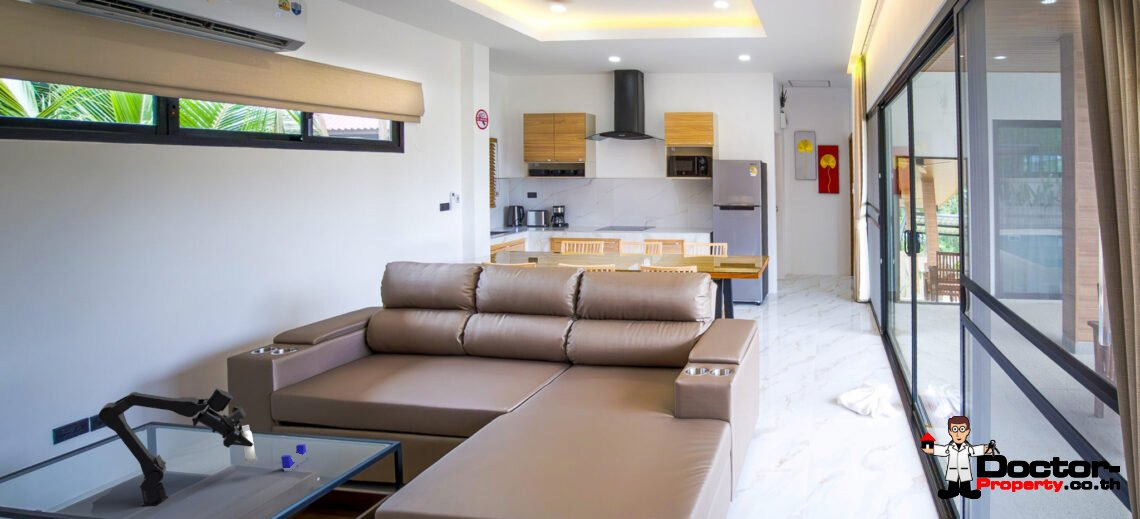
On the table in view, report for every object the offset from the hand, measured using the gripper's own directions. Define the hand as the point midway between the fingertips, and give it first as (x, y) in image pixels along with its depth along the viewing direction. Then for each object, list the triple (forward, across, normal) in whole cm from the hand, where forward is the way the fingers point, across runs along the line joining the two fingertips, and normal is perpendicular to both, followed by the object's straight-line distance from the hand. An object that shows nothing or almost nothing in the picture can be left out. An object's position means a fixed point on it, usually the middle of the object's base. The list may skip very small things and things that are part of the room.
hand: (252, 443), depth 286 cm
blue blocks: (+19, +6, +1) cm, 20 cm away
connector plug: (+4, 0, +6) cm, 7 cm away
